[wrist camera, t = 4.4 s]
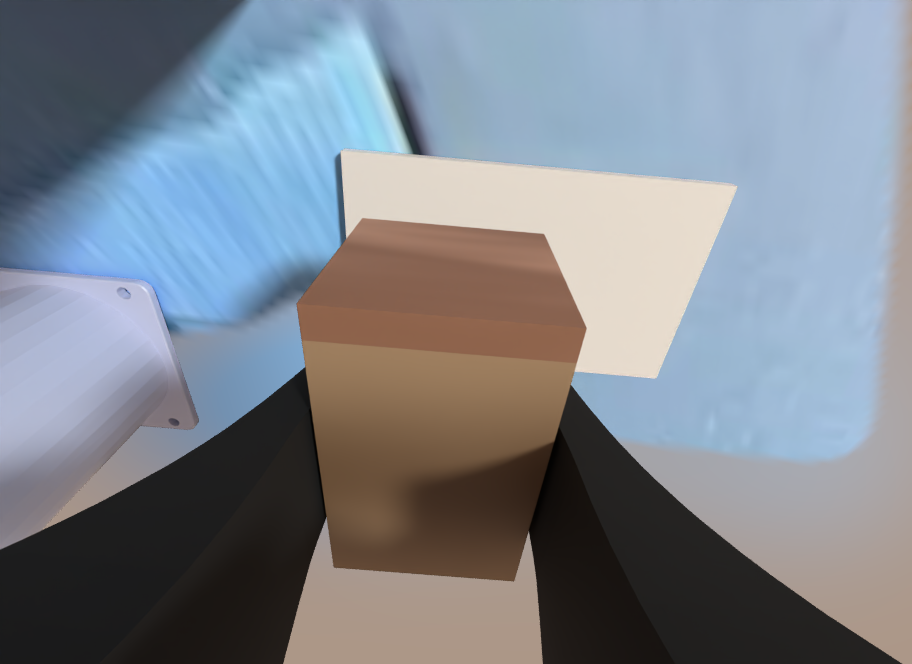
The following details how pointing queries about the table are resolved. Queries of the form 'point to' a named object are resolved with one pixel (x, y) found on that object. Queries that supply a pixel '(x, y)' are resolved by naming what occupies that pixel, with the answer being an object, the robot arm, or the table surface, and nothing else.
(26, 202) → the table surface
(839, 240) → the table surface
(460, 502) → the walnut block
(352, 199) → the beige board
